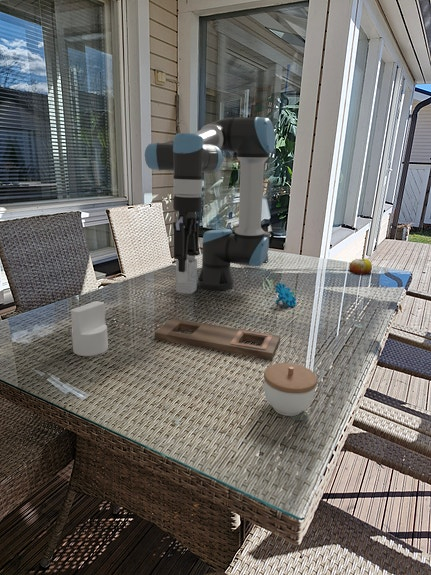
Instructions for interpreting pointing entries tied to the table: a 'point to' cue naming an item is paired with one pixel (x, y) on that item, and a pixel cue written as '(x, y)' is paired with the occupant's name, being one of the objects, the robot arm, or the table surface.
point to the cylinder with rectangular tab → (89, 329)
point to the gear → (285, 295)
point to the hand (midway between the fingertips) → (186, 279)
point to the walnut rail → (219, 338)
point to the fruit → (360, 266)
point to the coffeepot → (266, 234)
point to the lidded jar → (289, 388)
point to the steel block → (192, 278)
